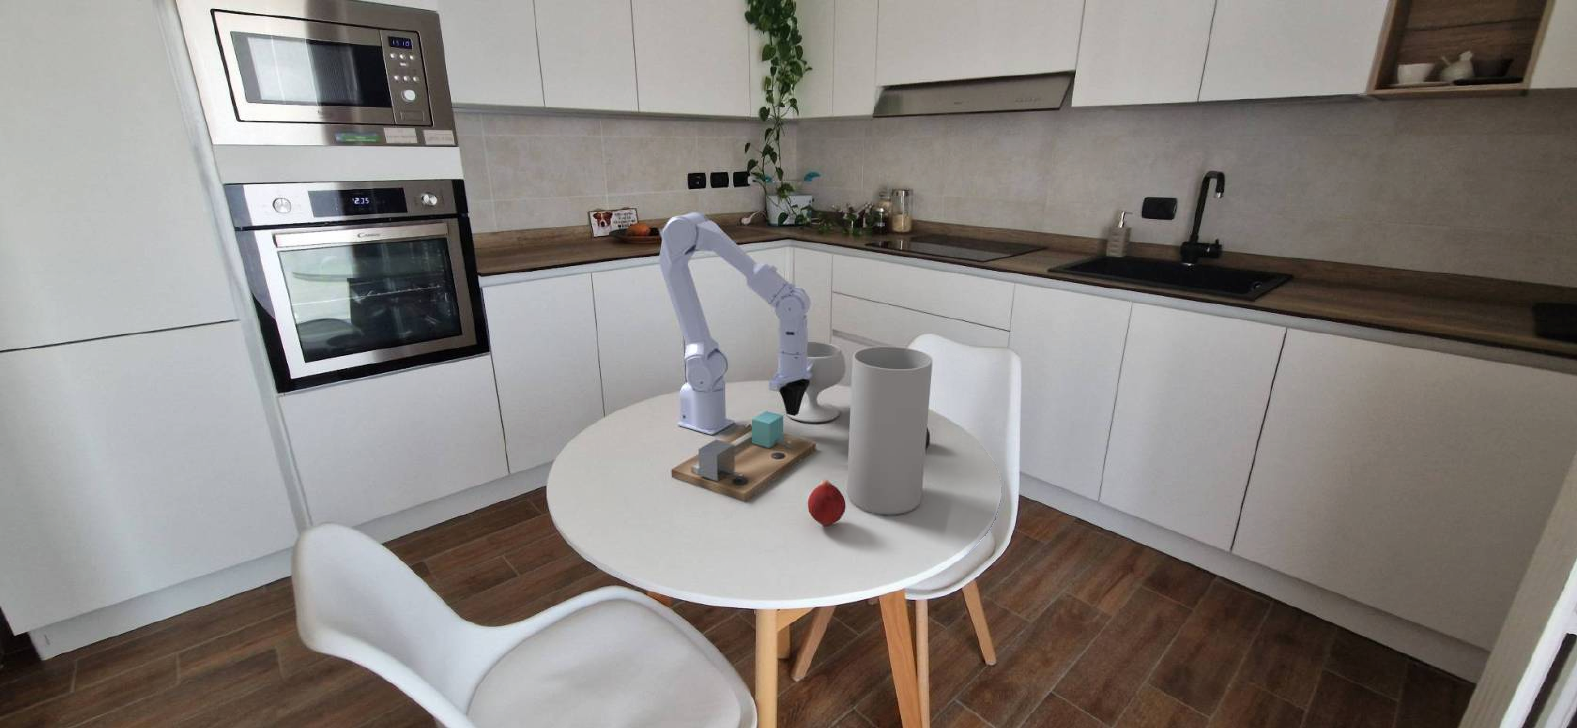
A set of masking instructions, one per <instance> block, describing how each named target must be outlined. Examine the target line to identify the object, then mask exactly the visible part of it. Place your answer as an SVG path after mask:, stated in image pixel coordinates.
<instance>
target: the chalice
mask: <svg viewBox="0 0 1577 728" xmlns="http://www.w3.org/2000/svg"><path fill="white" fill-rule="evenodd" d="M845 361H846V360H845V356H844V354H843V352H842V349H841V348H840V347H839V346H837V345H835V344H833V343H829V342H828V343H827V342H821V341H807V364H808V365H809V366H811V365H812V364H813V368H812V369H811V371H810V373H811V374H812V377H811V378H809V379H808V380H809V386H808V387H807V389H806V391H805V394H806V395H807V396H808V401H802V402H801V405H800V409H799V413H798V414H797V415H796V416H793V415H789V414H787V413H786V409H785V412H784V413H785V414H786V416H787V417H789V418H790V419H792V420H795V421H798V422H802V423H803V422H804V423H824V422H825V423H826V422H829V421H832V420H835V419H836V418H838V417H839V416H840V410H839V408H837V407H836V406H835V405H832V404H830V403H828V402H823V401H818V396H819V394H820V393H822V392H823V391H824V390H827V389H829V388H831V387H834V386H835V385H837V384H839V383H840V382H841V381H842V380H843V379H844V377H845V374H846V362H845Z"/></svg>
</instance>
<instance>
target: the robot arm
mask: <svg viewBox="0 0 1577 728" xmlns="http://www.w3.org/2000/svg"><path fill="white" fill-rule="evenodd" d="M660 236H661V246H660V252H659V257H658V263H659V267H660V270H661V273H662V276H663V279H664V283H665V284H666V288H667V291H668V294H669V297H670V300H671V304H672V306H673V309H674V312H675V315H676V318H677V319H676V320H677V322H678V324H679V328H680V330H681V333H682V337H683V339H684V343H685V345H686V347H685V348H686V349H685V353H684V363H685V365H686V367H685V368H686V370H685V377H686V381H687V382H686V383H683V385H682V386H681V389H680V391H679V396H678V400H679V401H678V404H679V405H678V406H679V421H678V422H677V425H678V426H679V427H683V428H686V429H690V430H694V431H697V432H699V433H704V434H706V435H707V434H708V435H711V436H712V435H716V433H718V432H720V431H722V430H724V429H725V428H728V427H729V426H731V425H733V424H735V420H733V419H730V418H726V417H727V416H726V415H727V413H726V412H727V411H726V409H727V408H726V403H727V402H726V382H725V379H724V375H725V374H726V373H727V371H728V369H729V360H728V358H727V356H726V355H725V353H723V352H722V350H721V348H720V345H719V344H718V342H717V341H716V340H715V339H714V338H713V337H712V336H711V333H710V330H709V327H708V323H707V320H706V317H705V314H704V311H703V308H702V305H701V304H702V303H701V302H700V298H699V296H698V292H697V290H696V286H695V283H694V279H693V276H692V273H691V270H690V268H689V262H690V261H691V258H692V257H693V255H694V254H695V252H696V251H704V252H706V251H708V252H713V253H715V254H716V255H718V256H719V257H720V258H721V259H723V260H724V261H725V262H727V263H728V264H729V265H731V266H732V267H733V268H734V269H736V270H737V271H738V272H740V273H741V274H742V275H744V277H745V278H746V279H745V280H746V283H747V284H746V285H747V287H748V288H749V289H751V290H752V291H753V292H754V293H755V294H756V295H757V296H759V297H760V298H761V299H762V300H763V301H765V302H766V303H767V305H769V306H770V307H772V308H774V311H775V312H774V313H775V314H776V316H777V319H778V320H779V322H778V323H779V326H778V370H777V371H776V373H775V374H774V375H773V377H772V378H771V379H770V380H768V391H771V392H778V393H779V394H780V396H781V398H782V401H783V405H784V409H785V410H786V413H787V414H789V415H793V416H796V415H797V414H798V413H799V409H800V405H801V402H803V398H804V395H805V394H806V392H805V391H806V389H807V387H808V386H809V380H808V379H809V378H811V377H812V374H811V373H810V371H811V369H812V368H813V364H812V365H811V366H809V365H808V364H807V342H808V339H809V338H808V334H809V333H808V331H809V329H808V315H807V313H808V311H809V310H810V307H811V299H810V297H809V294H808V293H807V292H806V291H805V290H804V289H803V288H801V287H796V284H795V283H794V282H791V283H790V282H789V281H788V280H786V279H785V278H784V277H783V276H782V275H781V274H779V273H778V272H777V271H778V268H777V267H776V266H775V265H773V264H772V265H769V264H768V263H767V262H766V263H765V262H764V263H757V262H756V260H754V259H753V258H752V257H751V256H750V255H748V254H747V252H746V251H744V250H743V249H742V248H741V247H740V246H739V244H737V243H736V242H735V241H734V240H733V239H731V237H730V236H728V235H727V234H726V233H725V232H724V231H723V229H722V228H720V227H719V225H718V224H717V223H716V222H715V221H712V220H709V218H708V217H707V216H706V215H705V214H704V213H702V212H697V211H691V212H689V213H687V214H686V213H685V214H683V215H676V216H673V217H671V218H670V219H669V220H668V221H667V223H665V226H664V227H663V229H662V230H661V231H660ZM786 413H785V414H786Z"/></svg>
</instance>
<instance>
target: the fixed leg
mask: <svg viewBox="0 0 1577 728" xmlns="http://www.w3.org/2000/svg"><path fill="white" fill-rule="evenodd" d="M698 454H699V475H700V476H703V477H706V478H709V479H712V480H715V481H719V480H721V479H722V478H724V477H725V476H727V475H728V476H731V477H734V478H737V479H738V481H742V479H743V478H744V475H743V474H742V473H737V472H733V471H734V470H735V445H734V444H731V443H728V442H724V441H722V440H720V439H717V438H716V439H714V440H712V441H711V442H709V443H707V444H706V445H703V446H702V447H700V448H699V449H698Z"/></svg>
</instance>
